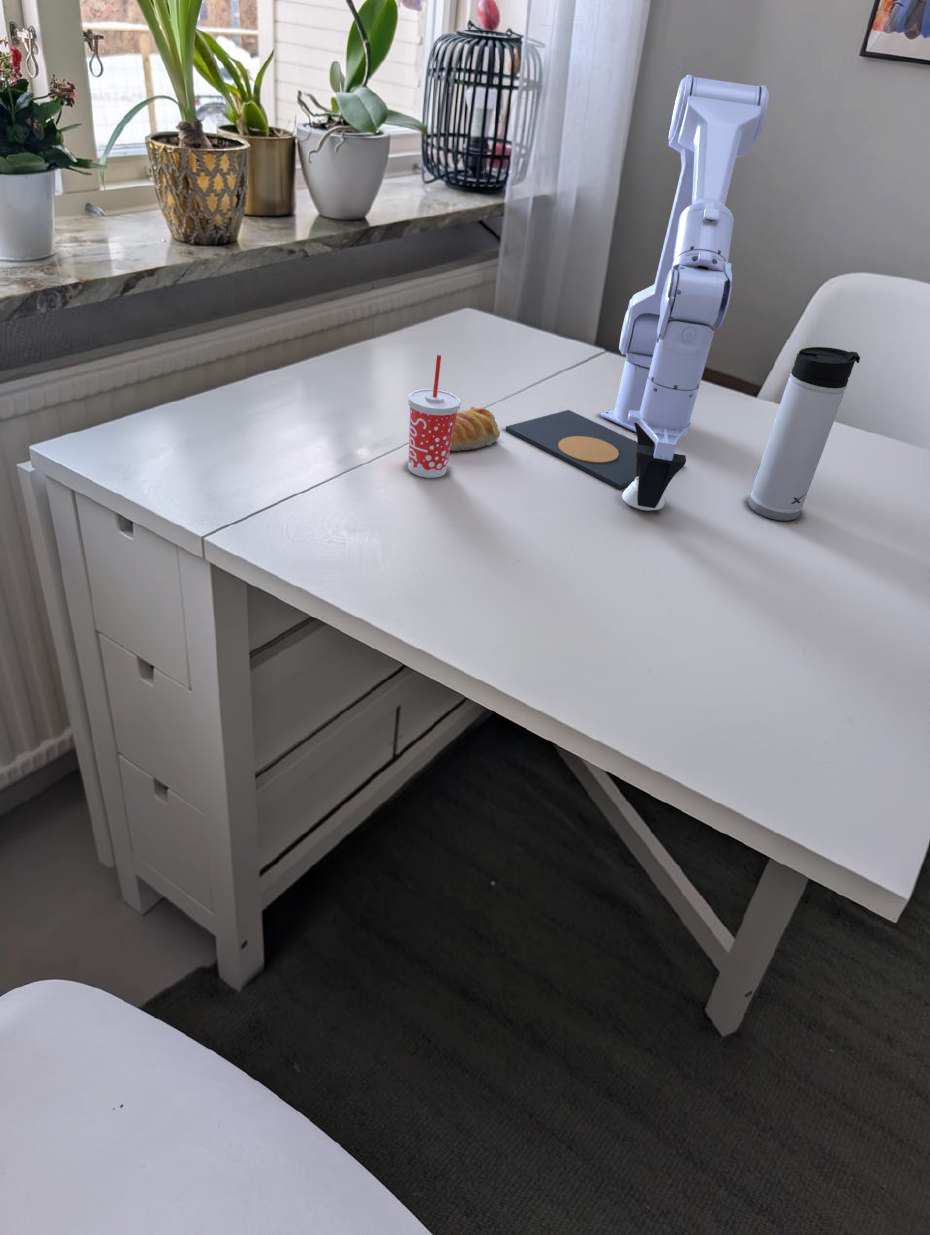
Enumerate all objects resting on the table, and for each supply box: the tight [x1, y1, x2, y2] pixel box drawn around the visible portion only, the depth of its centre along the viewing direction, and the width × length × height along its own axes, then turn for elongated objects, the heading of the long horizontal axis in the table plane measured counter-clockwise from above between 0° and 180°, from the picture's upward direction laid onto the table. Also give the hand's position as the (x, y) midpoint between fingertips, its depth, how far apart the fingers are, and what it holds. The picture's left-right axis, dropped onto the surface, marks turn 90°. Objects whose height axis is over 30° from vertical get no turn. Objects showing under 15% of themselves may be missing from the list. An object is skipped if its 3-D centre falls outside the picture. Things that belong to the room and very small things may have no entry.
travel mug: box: [748, 346, 861, 522], centre depth 105 cm, size 6×7×20 cm
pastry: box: [450, 406, 501, 452], centre depth 115 cm, size 9×7×4 cm
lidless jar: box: [621, 476, 666, 512], centre depth 107 cm, size 5×3×5 cm
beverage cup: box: [407, 354, 462, 479], centre depth 104 cm, size 6×6×14 cm
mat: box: [505, 409, 637, 490], centre depth 119 cm, size 13×20×1 cm, turn 43°
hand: (645, 491), depth 107 cm, fingers open, 7 cm apart
